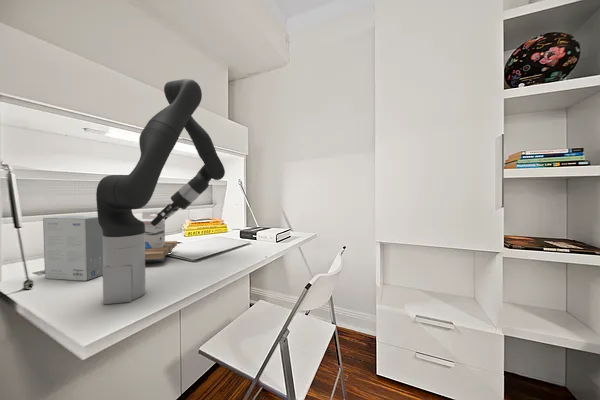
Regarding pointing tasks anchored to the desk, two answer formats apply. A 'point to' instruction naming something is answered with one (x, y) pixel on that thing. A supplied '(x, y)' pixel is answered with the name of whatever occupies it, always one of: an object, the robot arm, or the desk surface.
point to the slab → (160, 250)
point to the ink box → (153, 231)
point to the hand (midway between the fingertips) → (156, 223)
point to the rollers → (155, 259)
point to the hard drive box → (73, 247)
